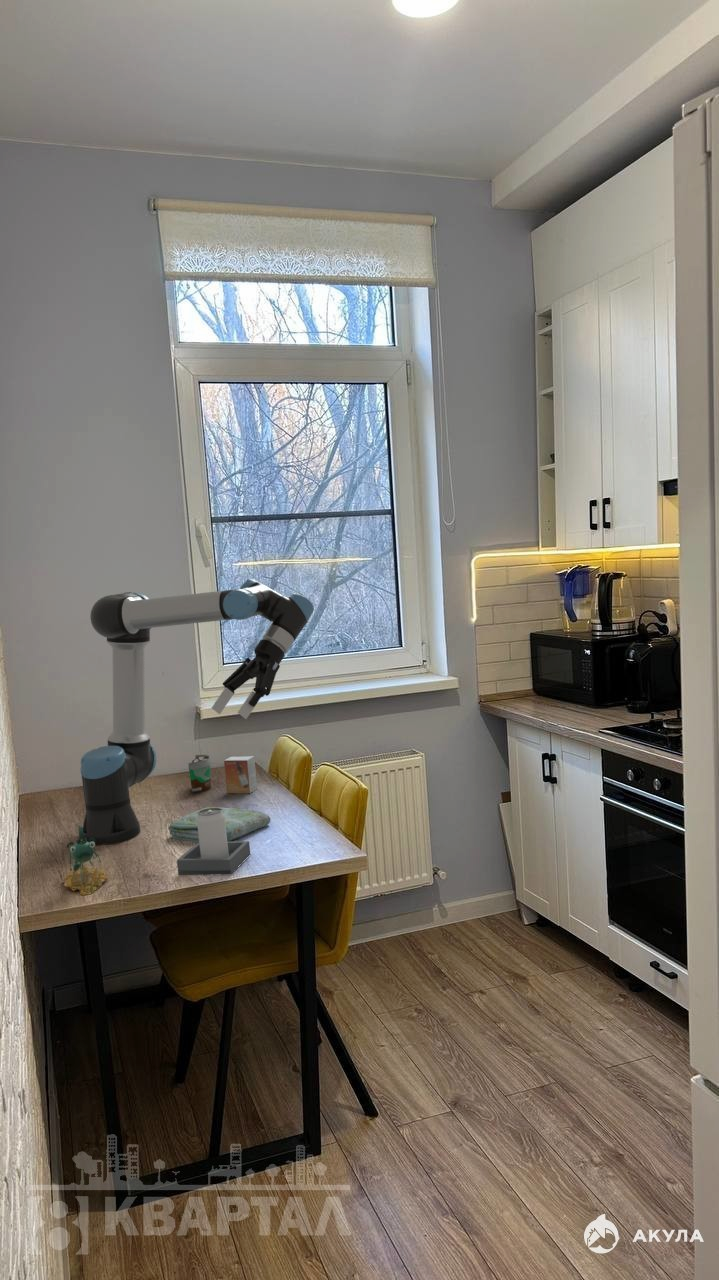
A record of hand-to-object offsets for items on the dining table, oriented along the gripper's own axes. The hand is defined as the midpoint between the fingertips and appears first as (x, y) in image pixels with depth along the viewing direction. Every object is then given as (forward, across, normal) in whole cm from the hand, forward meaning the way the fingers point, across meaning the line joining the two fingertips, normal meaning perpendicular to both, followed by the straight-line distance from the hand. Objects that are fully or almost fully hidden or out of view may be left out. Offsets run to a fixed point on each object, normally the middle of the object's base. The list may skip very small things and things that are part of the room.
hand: (228, 713), depth 234 cm
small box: (+6, +42, -40) cm, 59 cm away
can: (+32, -13, -12) cm, 37 cm away
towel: (+24, +10, -23) cm, 35 cm away
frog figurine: (+52, +1, +5) cm, 52 cm away
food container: (+10, +56, -36) cm, 67 cm away
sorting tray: (+33, -13, -13) cm, 38 cm away
